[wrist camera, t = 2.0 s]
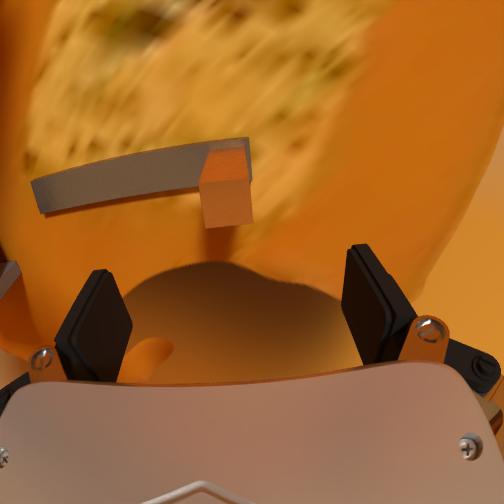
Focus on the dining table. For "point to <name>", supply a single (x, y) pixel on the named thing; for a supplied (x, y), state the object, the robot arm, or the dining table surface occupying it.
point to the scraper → (161, 179)
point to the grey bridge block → (8, 276)
